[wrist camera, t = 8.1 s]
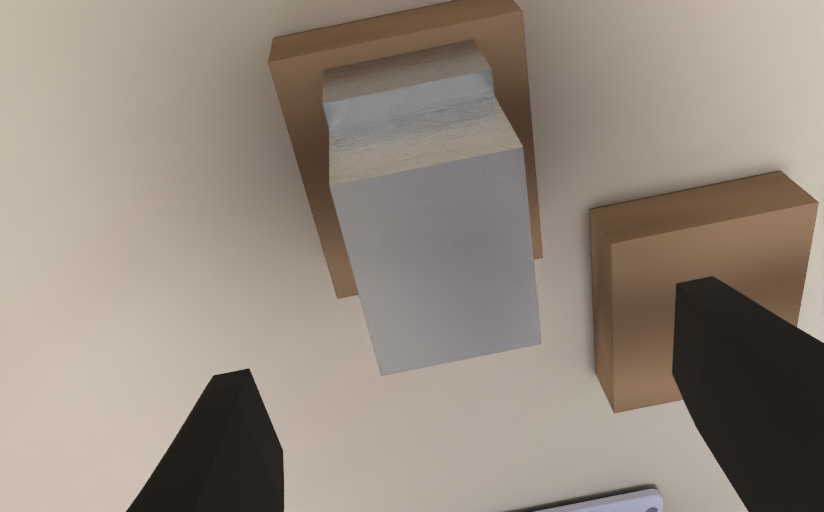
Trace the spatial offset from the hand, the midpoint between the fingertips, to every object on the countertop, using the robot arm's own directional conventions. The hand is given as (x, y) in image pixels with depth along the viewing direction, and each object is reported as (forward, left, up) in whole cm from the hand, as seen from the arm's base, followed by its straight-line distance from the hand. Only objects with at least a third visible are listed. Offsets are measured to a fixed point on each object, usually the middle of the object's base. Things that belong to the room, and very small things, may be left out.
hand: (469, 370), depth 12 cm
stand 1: (0, 0, -10) cm, 10 cm away
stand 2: (-7, -8, -10) cm, 14 cm away
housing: (0, 0, -8) cm, 8 cm away
